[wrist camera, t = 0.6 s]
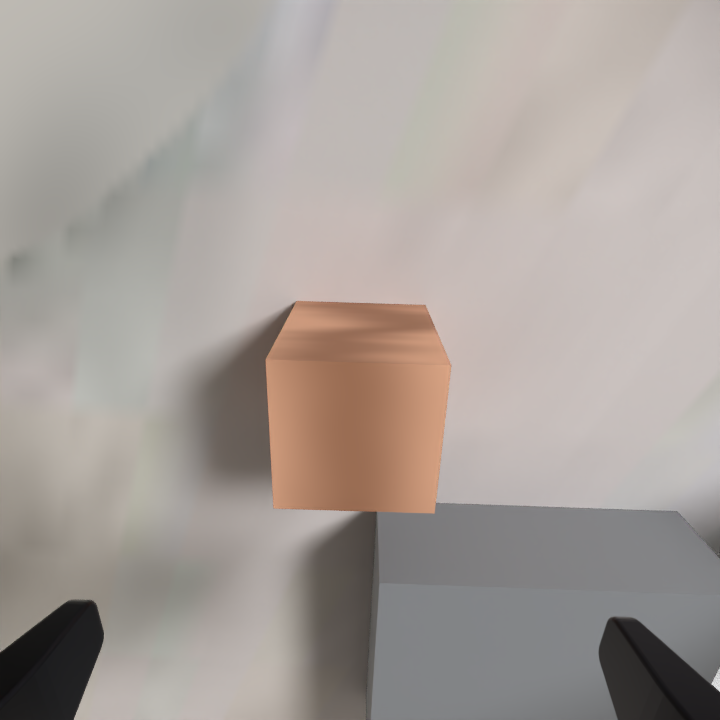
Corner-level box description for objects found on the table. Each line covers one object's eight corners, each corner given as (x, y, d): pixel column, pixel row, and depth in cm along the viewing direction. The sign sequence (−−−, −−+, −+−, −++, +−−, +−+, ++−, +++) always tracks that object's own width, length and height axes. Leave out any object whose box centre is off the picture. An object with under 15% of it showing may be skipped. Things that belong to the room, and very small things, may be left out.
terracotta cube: (425, 304, 18) (451, 365, 12) (415, 417, 20) (434, 513, 14) (296, 300, 18) (265, 359, 12) (299, 413, 20) (273, 508, 14)
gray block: (672, 506, 22) (754, 596, 17) (603, 696, 27) (651, 804, 23) (376, 495, 22) (379, 583, 17) (366, 688, 27) (365, 794, 23)
